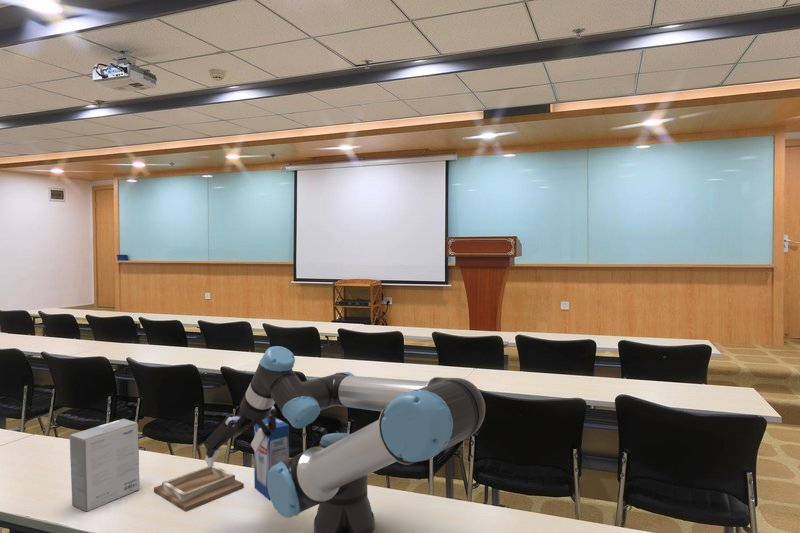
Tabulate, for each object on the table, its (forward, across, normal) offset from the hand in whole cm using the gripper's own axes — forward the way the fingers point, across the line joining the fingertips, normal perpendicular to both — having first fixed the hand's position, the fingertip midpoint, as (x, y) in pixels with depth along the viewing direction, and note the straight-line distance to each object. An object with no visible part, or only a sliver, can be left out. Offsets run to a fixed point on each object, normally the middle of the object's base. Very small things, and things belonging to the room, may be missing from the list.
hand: (231, 455), depth 135 cm
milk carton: (+14, -14, +7) cm, 21 cm away
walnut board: (+24, -1, -7) cm, 25 cm away
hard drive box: (+33, +18, -19) cm, 42 cm away
